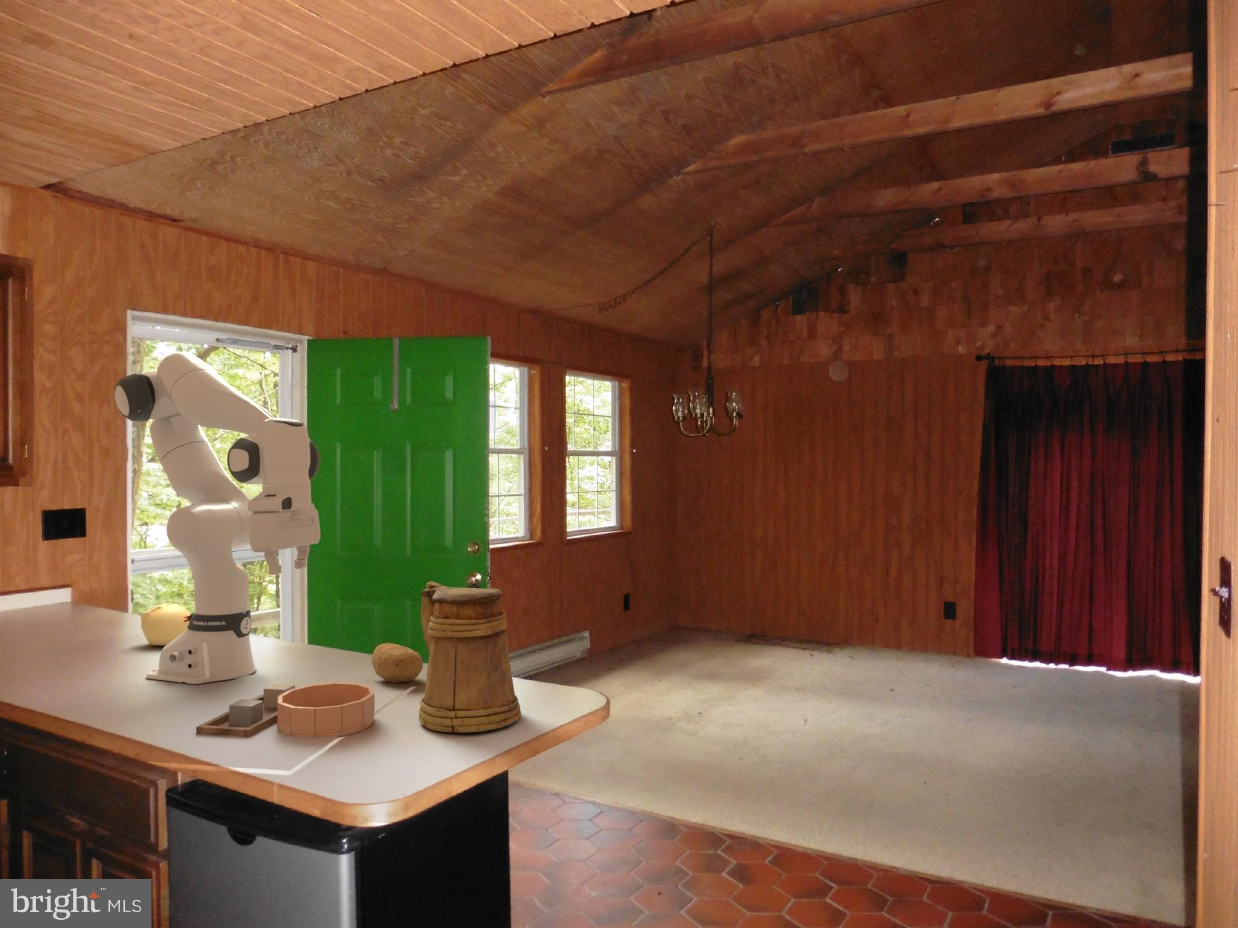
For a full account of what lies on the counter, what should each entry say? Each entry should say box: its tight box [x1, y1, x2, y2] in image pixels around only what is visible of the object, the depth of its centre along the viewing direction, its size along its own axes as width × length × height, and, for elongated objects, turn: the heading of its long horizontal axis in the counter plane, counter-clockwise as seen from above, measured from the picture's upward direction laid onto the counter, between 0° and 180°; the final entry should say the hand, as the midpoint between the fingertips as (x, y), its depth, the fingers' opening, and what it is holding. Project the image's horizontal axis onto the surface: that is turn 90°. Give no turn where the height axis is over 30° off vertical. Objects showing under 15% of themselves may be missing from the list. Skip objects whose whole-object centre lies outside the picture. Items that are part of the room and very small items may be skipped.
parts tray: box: [195, 693, 277, 738], centre depth 156 cm, size 10×26×2 cm, turn 172°
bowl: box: [276, 682, 376, 739], centre depth 151 cm, size 17×17×6 cm
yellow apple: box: [140, 602, 192, 646], centre depth 216 cm, size 12×12×11 cm
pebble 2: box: [263, 683, 296, 708], centre depth 161 cm, size 4×4×4 cm
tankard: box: [418, 581, 522, 734], centre depth 156 cm, size 18×24×25 cm
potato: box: [371, 642, 424, 684], centre depth 181 cm, size 10×14×8 cm
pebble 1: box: [228, 699, 263, 726], centre depth 150 cm, size 4×4×4 cm
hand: (288, 571), depth 161 cm, fingers open, 8 cm apart
